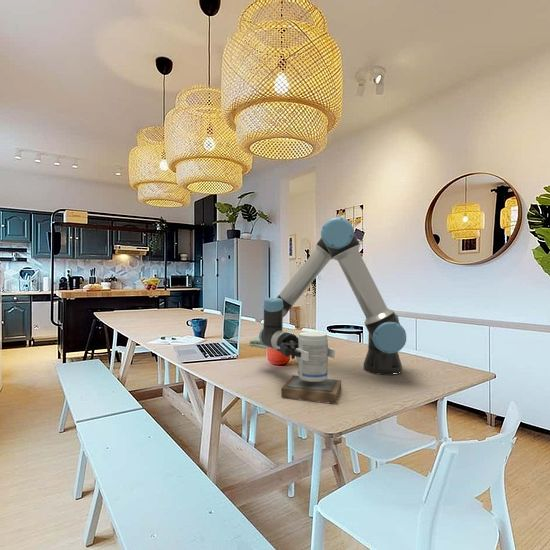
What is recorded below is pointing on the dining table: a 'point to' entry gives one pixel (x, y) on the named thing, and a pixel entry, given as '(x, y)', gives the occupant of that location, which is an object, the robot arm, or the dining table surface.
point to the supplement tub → (313, 356)
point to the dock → (311, 390)
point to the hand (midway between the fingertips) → (321, 355)
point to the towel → (257, 343)
